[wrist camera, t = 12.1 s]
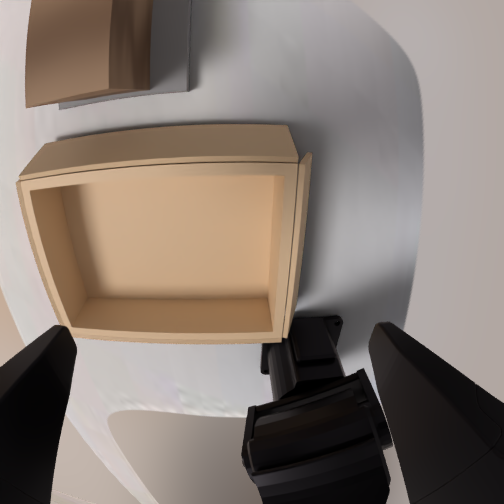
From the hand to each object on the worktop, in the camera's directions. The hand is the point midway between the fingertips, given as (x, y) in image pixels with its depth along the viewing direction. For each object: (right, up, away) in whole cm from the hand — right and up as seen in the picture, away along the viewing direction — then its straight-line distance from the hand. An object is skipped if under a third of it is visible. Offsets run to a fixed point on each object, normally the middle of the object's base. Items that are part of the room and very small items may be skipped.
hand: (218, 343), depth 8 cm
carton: (-5, +4, +11) cm, 13 cm away
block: (-6, +14, +4) cm, 16 cm away
